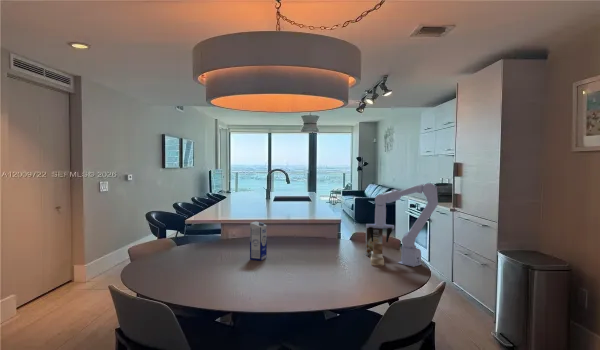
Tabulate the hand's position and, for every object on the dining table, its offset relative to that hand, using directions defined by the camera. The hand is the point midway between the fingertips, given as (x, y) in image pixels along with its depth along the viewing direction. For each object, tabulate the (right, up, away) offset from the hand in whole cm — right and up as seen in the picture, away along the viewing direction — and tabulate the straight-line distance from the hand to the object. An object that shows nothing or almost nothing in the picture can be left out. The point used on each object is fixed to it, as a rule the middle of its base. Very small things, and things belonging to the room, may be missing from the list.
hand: (379, 241), depth 196 cm
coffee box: (0, -10, +14) cm, 18 cm away
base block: (-2, -11, -5) cm, 12 cm away
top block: (-2, -8, -5) cm, 10 cm away
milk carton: (-66, -10, +2) cm, 66 cm away
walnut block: (-2, -5, -5) cm, 8 cm away
